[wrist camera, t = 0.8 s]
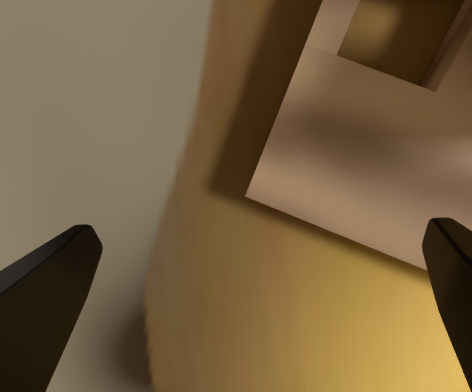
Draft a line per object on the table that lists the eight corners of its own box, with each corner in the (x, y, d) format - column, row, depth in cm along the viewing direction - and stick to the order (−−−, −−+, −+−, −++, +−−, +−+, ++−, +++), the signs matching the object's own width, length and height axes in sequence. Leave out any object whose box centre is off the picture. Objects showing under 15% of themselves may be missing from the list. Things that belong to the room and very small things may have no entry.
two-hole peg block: (493, 282, 21) (524, 310, 18) (251, 184, 22) (245, 196, 19) (687, 29, 16) (773, 13, 13) (357, -83, 17) (370, -121, 14)
